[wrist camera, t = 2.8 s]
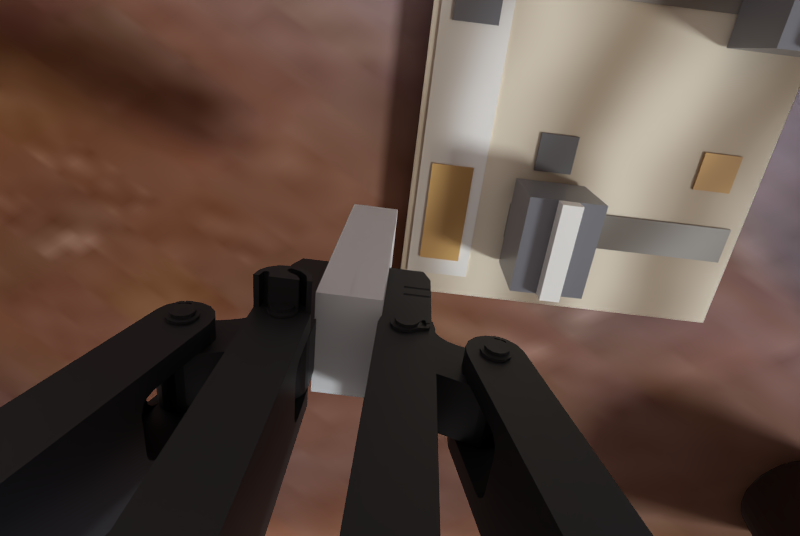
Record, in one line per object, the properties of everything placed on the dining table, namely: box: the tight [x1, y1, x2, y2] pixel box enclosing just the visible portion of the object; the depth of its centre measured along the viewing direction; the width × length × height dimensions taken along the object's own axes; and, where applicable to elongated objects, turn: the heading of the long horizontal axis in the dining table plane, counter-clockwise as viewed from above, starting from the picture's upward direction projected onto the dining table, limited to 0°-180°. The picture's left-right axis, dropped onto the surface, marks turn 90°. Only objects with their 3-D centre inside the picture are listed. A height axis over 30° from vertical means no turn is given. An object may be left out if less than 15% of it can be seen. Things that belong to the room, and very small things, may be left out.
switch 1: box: [499, 178, 608, 303], centre depth 21 cm, size 3×4×4 cm
